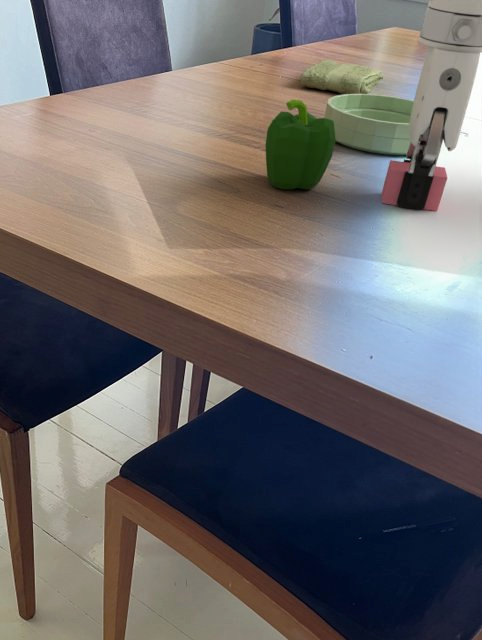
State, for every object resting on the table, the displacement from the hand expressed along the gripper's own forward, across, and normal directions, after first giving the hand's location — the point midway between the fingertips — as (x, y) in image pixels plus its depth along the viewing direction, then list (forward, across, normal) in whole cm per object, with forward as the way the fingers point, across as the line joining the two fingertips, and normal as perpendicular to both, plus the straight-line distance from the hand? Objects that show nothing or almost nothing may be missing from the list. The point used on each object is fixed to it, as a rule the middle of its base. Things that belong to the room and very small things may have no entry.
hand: (409, 199), depth 89 cm
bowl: (0, +27, +4) cm, 27 cm away
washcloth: (0, +63, +10) cm, 64 cm away
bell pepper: (0, 0, +14) cm, 15 cm away
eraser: (0, 0, 0) cm, 0 cm away
